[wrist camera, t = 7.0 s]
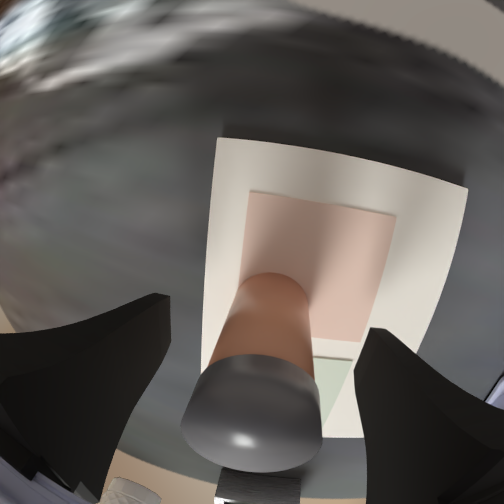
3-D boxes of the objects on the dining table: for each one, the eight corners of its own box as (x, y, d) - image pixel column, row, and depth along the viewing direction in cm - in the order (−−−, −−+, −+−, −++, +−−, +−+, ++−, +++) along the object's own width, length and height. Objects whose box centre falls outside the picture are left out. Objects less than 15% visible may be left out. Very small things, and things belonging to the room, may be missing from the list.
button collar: (300, 479, 18) (299, 506, 15) (284, 502, 20) (282, 524, 17) (221, 469, 19) (214, 496, 16) (218, 493, 21) (213, 516, 18)
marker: (316, 274, 12) (339, 406, 5) (303, 341, 13) (305, 476, 6) (233, 265, 12) (173, 384, 5) (230, 333, 13) (187, 460, 6)
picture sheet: (461, 187, 10) (469, 189, 9) (365, 430, 15) (366, 438, 15) (221, 138, 11) (216, 137, 10) (202, 413, 16) (200, 421, 15)
